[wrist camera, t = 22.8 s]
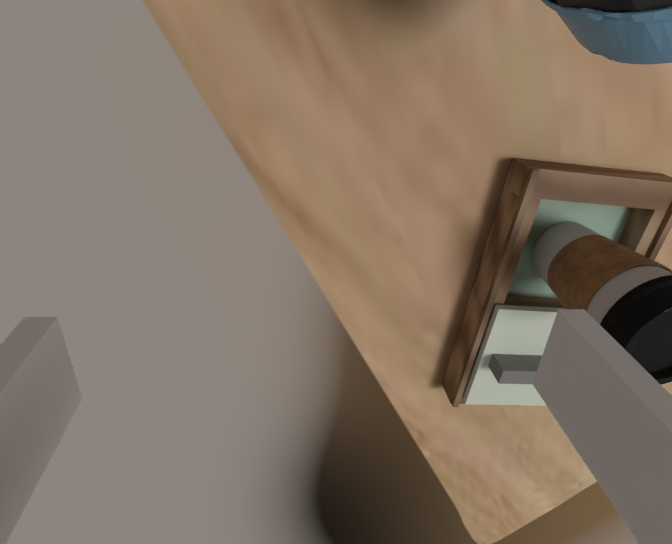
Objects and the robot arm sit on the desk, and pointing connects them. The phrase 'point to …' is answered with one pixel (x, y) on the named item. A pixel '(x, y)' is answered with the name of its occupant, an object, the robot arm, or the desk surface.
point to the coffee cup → (611, 290)
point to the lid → (510, 356)
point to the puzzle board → (538, 216)
